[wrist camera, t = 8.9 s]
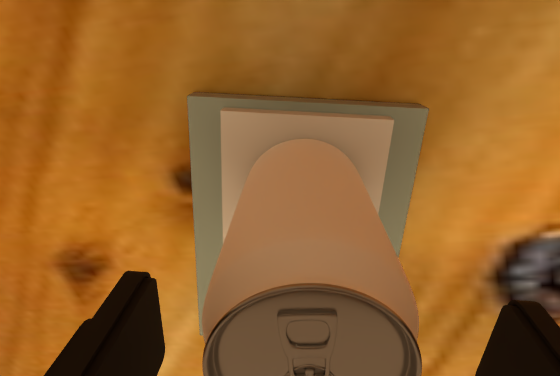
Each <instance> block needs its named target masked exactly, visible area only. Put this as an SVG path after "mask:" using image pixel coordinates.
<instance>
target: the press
mask: <svg viewBox="0 0 560 376" xmlns="http://www.w3.org/2000/svg"><path fill="white" fill-rule="evenodd" d="M187 103H188V121H189V140H190V159H191V178H192V196H193V215H194V234H195V252H196V271H197V290H198V309H199V327H200V335H203V329H202V312H203V306H204V301H205V297H206V293H207V290H208V287H209V284H210V281H211V278H212V275H213V272H214V269H215V266H216V263H217V260H218V257H219V254H220V252H221V249H222V246H223V243H224V240H225V237H226V235H227V232H228V229H229V226H230V223H231V221H232V218H233V215H234V212H235V209H236V207H237V204H238V201H239V198H240V196H241V193H242V190H243V187H244V185H245V182H246V180H247V177H248V175H249V172H250V170H251V169H252V167H253V165H254V164H255V162H256V161H257V160H258V159H259V157H260V156H261V155H263V154H264V153H265V152H266V151H267V150H269V149H270V148H272V147H274V146H275V145H277V144H280V143H282V142H285V141H289V140H294V139H314V140H319V141H323V142H326V143H328V144H330V145H332V146H334V147H336V148H337V149H339V150H340V151H342V152H343V153H344V154H345V155H346V156H347V157H348V158H349V159H350V160H351V162H352V163H353V164H354V166H355V168H356V169H357V171H358V173H359V175H360V177H361V179H362V181H363V183H364V185H365V187H366V190H367V192H368V194H369V196H370V198H371V200H372V202H373V205H374V207H375V209H376V211H377V213H378V215H379V218H380V220H381V222H382V224H383V226H384V228H385V231H386V233H387V235H388V237H389V239H390V241H391V244H392V246H393V248H394V250H395V252H396V255H397V257H398V258H399V253H400V248H401V243H402V238H403V233H404V228H405V223H406V218H407V213H408V209H409V204H410V199H411V194H412V189H413V184H414V179H415V174H416V169H417V164H418V160H419V155H420V150H421V145H422V140H423V135H424V130H425V125H426V120H427V115H428V111H429V109H428V108H426V107H425V106H423V105H421V104H411V103H392V102H373V101H354V100H335V99H316V98H297V97H278V96H259V95H240V94H222V93H203V92H194V93H192V94H190V95H188V96H187Z"/></svg>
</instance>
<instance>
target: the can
mask: <svg viewBox="0 0 560 376" xmlns="http://www.w3.org/2000/svg"><path fill="white" fill-rule="evenodd" d="M202 329H203V336H204V341H205V348H204V353H203V363H202V364H203V375H204V376H421V374H422V360H421V354H420V350H419V346H418V344H417V338H418V330H419V316H418V310H417V305H416V301H415V298H414V295H413V292H412V289H411V287H410V284H409V282H408V279H407V277H406V275H405V273H404V270H403V268H402V266H401V264H400V261H399V259H398V257H397V255H396V252H395V250H394V248H393V246H392V244H391V241H390V239H389V237H388V235H387V233H386V231H385V228H384V226H383V224H382V222H381V220H380V218H379V215H378V213H377V211H376V209H375V207H374V205H373V202H372V200H371V198H370V196H369V194H368V192H367V190H366V187H365V185H364V183H363V181H362V179H361V177H360V175H359V173H358V171H357V169H356V168H355V166H354V164H353V163H352V162H351V160H350V159H349V158H348V157H347V156H346V155H345V154H344V153H343V152H342V151H340V150H339V149H337V148H336V147H334V146H332V145H330V144H328V143H326V142H323V141H319V140H314V139H294V140H289V141H285V142H282V143H280V144H277V145H275V146H274V147H272V148H270V149H269V150H267V151H266V152H265V153H264V154H263V155H261V156H260V157H259V159H258V160H257V161H256V162H255V164H254V165H253V167H252V169H251V170H250V172H249V175H248V177H247V180H246V182H245V185H244V187H243V190H242V193H241V196H240V198H239V201H238V204H237V207H236V209H235V212H234V215H233V218H232V221H231V223H230V226H229V229H228V232H227V235H226V237H225V240H224V243H223V246H222V249H221V252H220V254H219V257H218V260H217V263H216V266H215V269H214V272H213V275H212V278H211V281H210V284H209V287H208V290H207V293H206V297H205V301H204V306H203V312H202Z"/></svg>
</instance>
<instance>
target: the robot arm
mask: <svg viewBox="0 0 560 376" xmlns="http://www.w3.org/2000/svg"><path fill="white" fill-rule="evenodd" d="M164 354H165V343H164V336H163V328H162V320H161V313H160V305H159V297H158V289H157V282H156V279H155V278H151V277H150V274H149V273H148V272H137V271H126V272H125V273H124V274H123V276H122V277H121V278H120V280H119V281H118V283H117V284H116V285H115V287H114V288H113V290H112V291H111V293H110V294H109V295H108V297H107V298H106V300H105V301H104V302H103V304H102V305H101V307H100V308H99V309H98V311H97V312H96V314H95V315H94V316H93V318H92V319H87V320H86V321H84V322H83V324H82V325H81V326H80V327H79V328H78V330H77V331H76V332H75V334H74V335H73V337H72V338H71V339H70V341H69V342H68V343H67V345H66V346H65V347H64V349H63V350H62V352H61V353H60V354H59V356H58V357H57V358H56V360H55V361H54V363H53V364H52V365H51V367H50V368H49V369H48V371H47V372H46V373H45V375H44V376H157V374H158V371H159V369H160V367H161V364H162V362H163V359H164ZM475 376H560V327H559V326H558V325H557V324H556V322H555V321H554V320H553V319H552V317H551V316H550V315H549V314H548V313H547V311H546V310H545V309H544V308H543V307H542V306H541V305H540V304H539V303H537V302H533V301H520V300H512V301H510V302H509V303H508V305H505V306H503V307H502V309H501V312H500V314H499V317H498V319H497V322H496V324H495V326H494V329H493V331H492V334H491V336H490V339H489V341H488V344H487V346H486V349H485V351H484V354H483V356H482V359H481V361H480V364H479V366H478V369H477V371H476V375H475Z"/></svg>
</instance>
